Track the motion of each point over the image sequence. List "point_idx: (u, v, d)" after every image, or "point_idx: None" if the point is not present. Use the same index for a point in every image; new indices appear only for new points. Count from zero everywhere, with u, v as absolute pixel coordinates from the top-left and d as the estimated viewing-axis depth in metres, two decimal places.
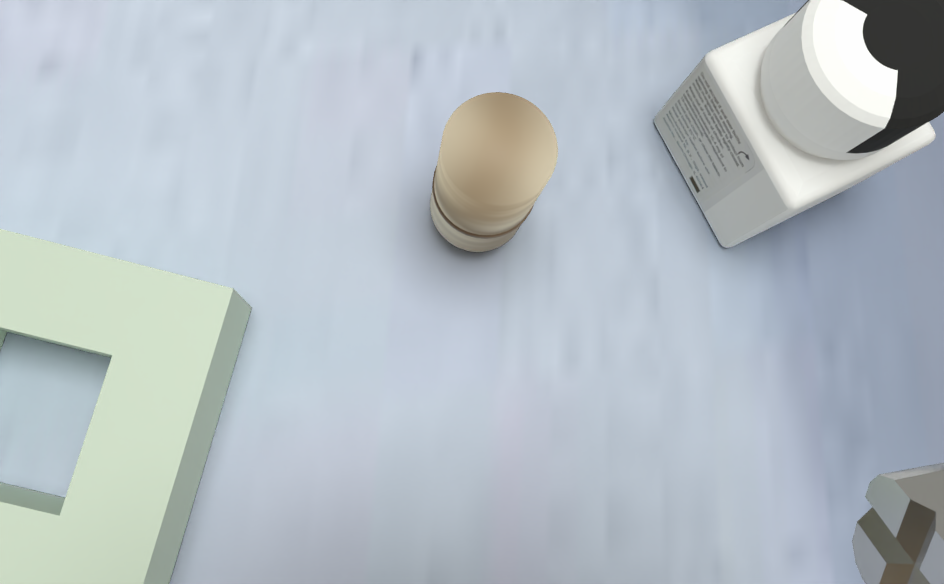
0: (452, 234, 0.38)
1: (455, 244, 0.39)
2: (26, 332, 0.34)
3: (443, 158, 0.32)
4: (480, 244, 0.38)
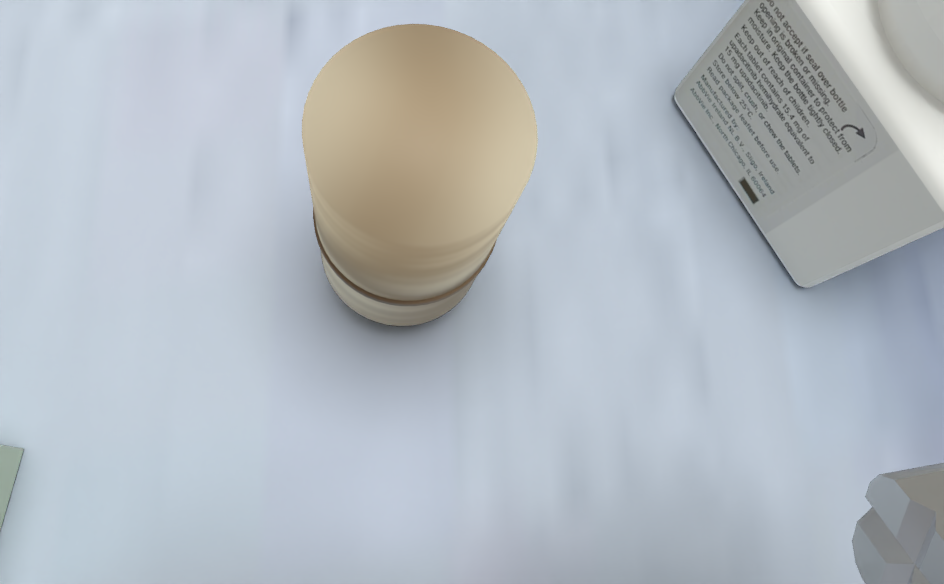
0: (358, 301, 0.22)
1: (367, 316, 0.23)
2: None
3: (307, 158, 0.16)
4: (408, 315, 0.22)
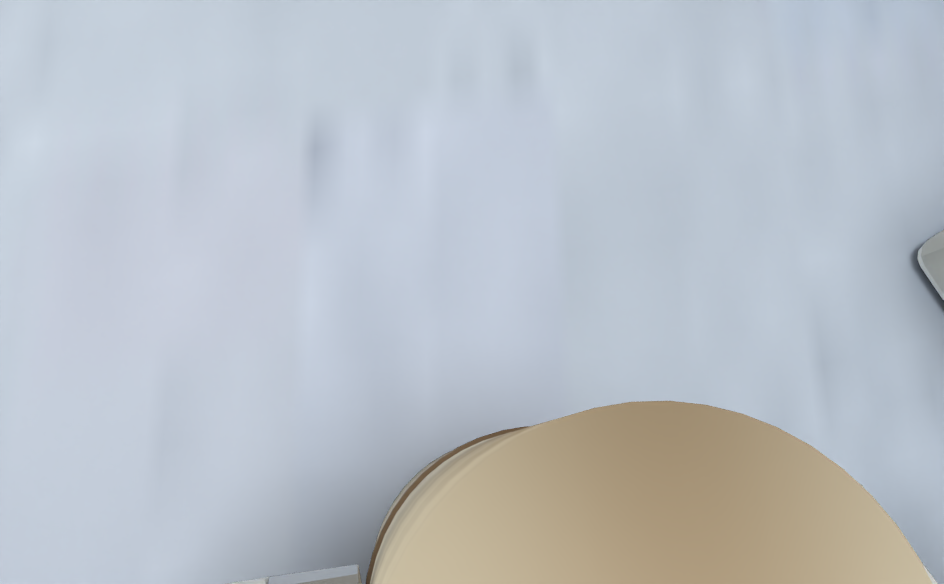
0: None
1: None
2: None
3: None
4: None
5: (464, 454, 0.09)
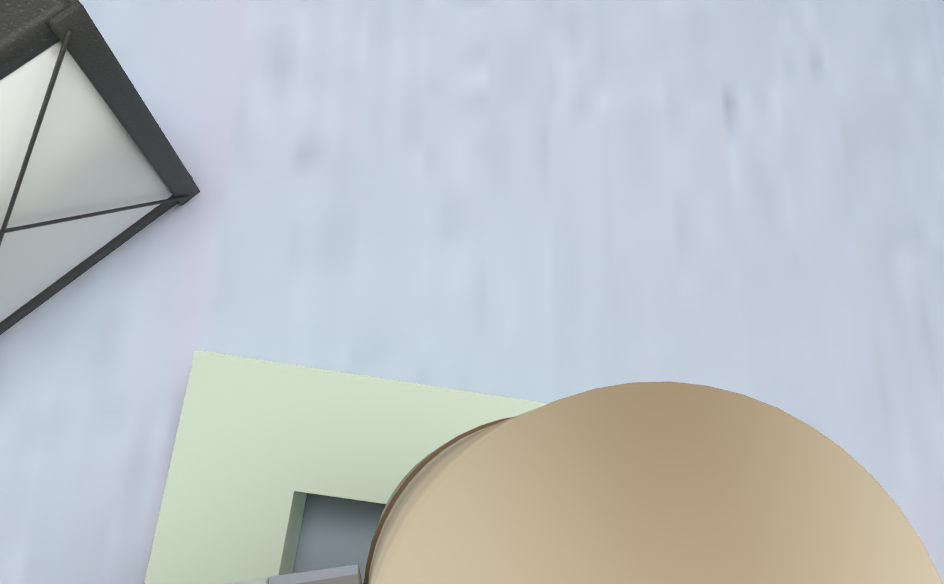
0: None
1: None
2: None
3: None
4: None
5: (464, 440, 0.09)
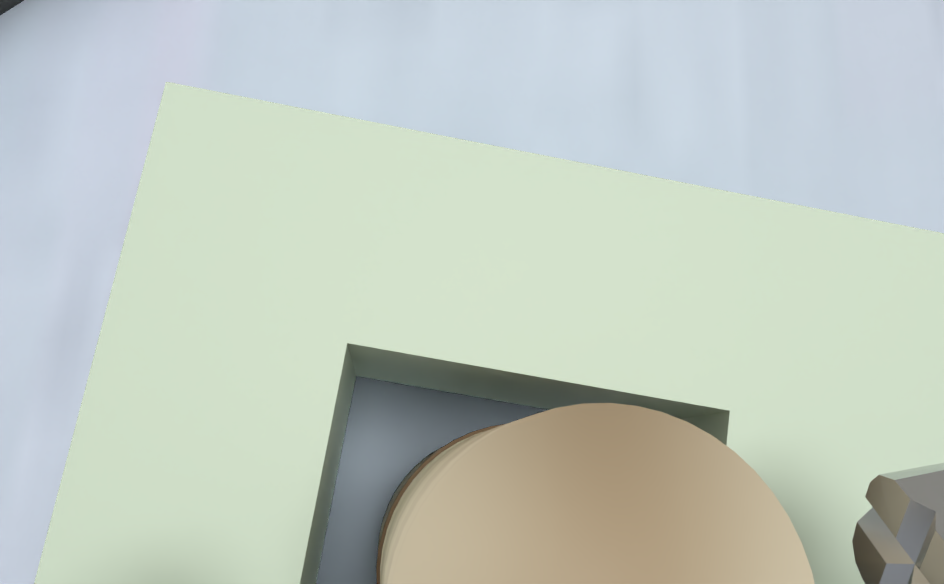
0: None
1: None
2: (526, 371, 0.14)
3: None
4: None
5: (459, 444, 0.12)
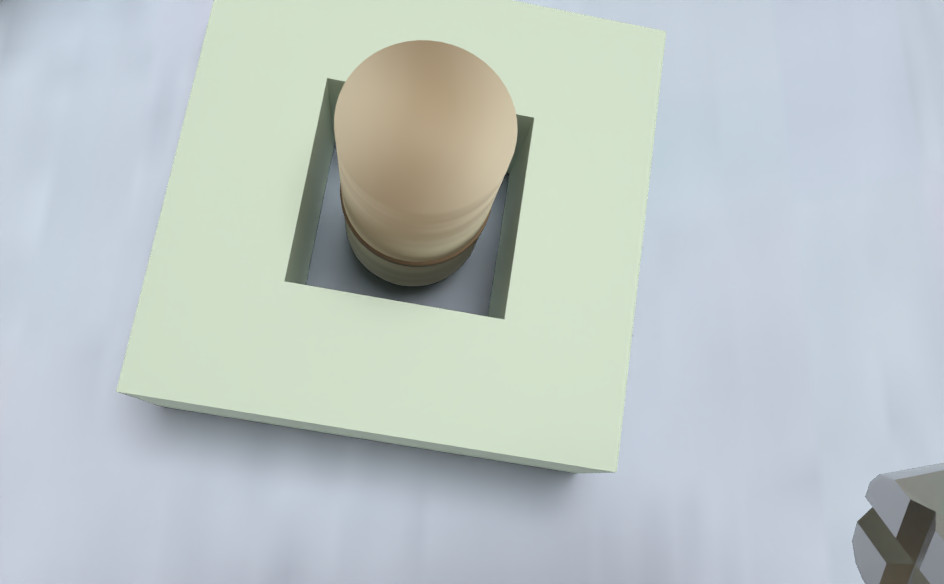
0: (377, 264, 0.26)
1: (385, 278, 0.27)
2: None
3: (338, 147, 0.20)
4: (419, 275, 0.26)
5: None
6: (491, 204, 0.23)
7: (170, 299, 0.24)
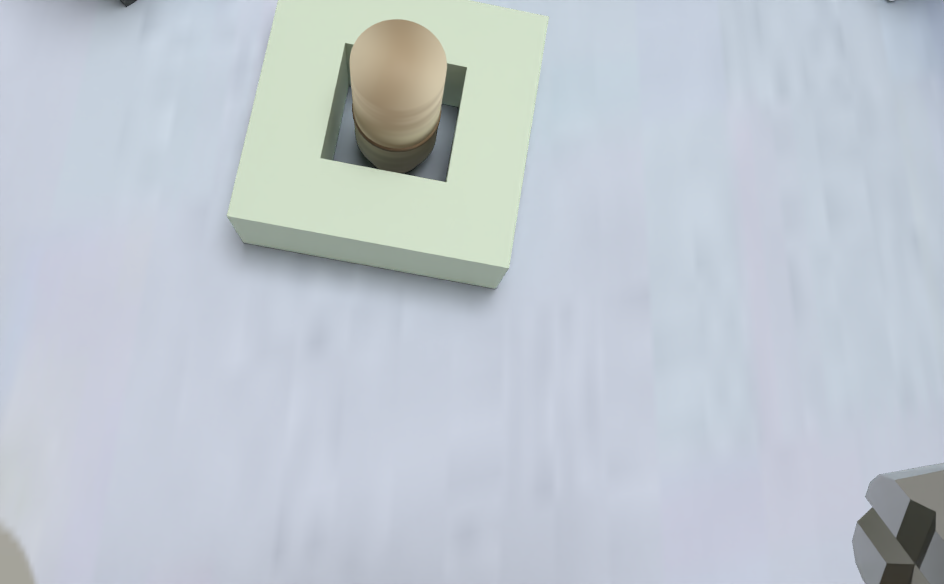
0: (373, 153, 0.44)
1: (378, 164, 0.46)
2: None
3: (351, 75, 0.38)
4: (398, 160, 0.44)
5: None
6: (436, 112, 0.41)
7: (256, 166, 0.42)
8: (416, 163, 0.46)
